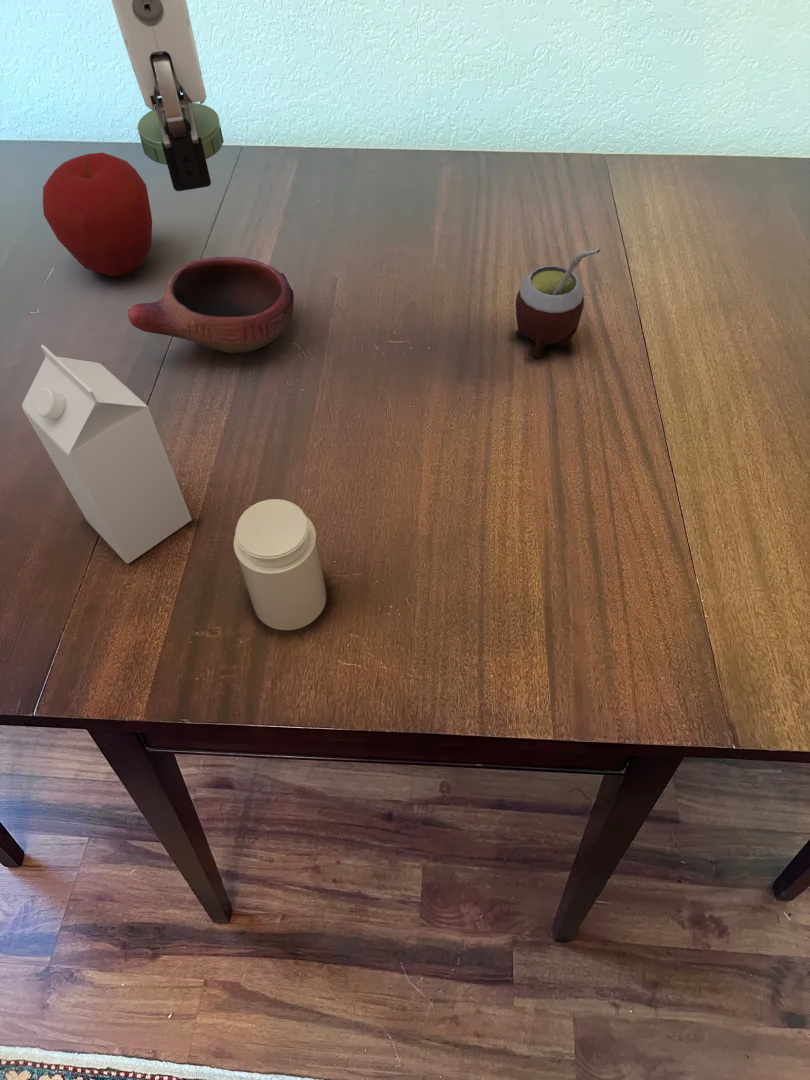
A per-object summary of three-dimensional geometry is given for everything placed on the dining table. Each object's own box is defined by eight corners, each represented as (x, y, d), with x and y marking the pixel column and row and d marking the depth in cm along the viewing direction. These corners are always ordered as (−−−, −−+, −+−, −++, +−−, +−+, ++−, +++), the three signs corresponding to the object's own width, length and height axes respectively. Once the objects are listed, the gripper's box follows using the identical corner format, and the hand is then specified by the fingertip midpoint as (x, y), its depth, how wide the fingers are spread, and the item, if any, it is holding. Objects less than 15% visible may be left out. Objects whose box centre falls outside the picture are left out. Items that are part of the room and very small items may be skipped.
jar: (252, 634, 66) (228, 565, 57) (253, 570, 70) (230, 497, 61) (328, 626, 66) (315, 557, 58) (324, 564, 70) (312, 490, 61)
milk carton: (150, 479, 76) (82, 323, 60) (193, 521, 73) (133, 367, 57) (86, 521, 73) (-2, 367, 58) (128, 566, 70) (46, 417, 55)
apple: (112, 227, 100) (75, 122, 89) (187, 250, 97) (158, 144, 86) (49, 280, 94) (2, 174, 83) (127, 306, 91) (88, 200, 80)
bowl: (229, 286, 93) (215, 225, 87) (318, 321, 89) (310, 260, 83) (139, 367, 85) (116, 307, 79) (232, 408, 81) (216, 349, 75)
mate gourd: (521, 315, 90) (538, 192, 77) (588, 330, 88) (617, 207, 76) (502, 356, 86) (517, 234, 73) (572, 373, 84) (599, 251, 72)
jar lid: (235, 129, 69) (230, 107, 68) (204, 170, 65) (199, 148, 64) (164, 120, 70) (158, 98, 69) (130, 160, 66) (123, 138, 65)
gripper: (194, -42, 50) (244, 211, 65) (168, -126, 60) (216, 111, 75) (76, -28, 49) (154, 226, 64) (68, -116, 59) (137, 122, 74)
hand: (187, 162), depth 69 cm, fingers closed on jar lid, 6 cm apart
